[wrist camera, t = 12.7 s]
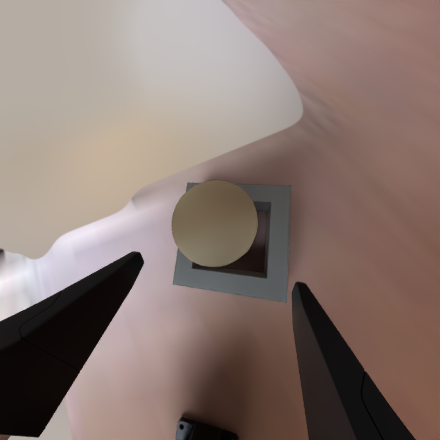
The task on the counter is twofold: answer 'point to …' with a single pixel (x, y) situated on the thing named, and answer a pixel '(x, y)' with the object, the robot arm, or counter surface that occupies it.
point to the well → (273, 259)
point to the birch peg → (214, 223)
